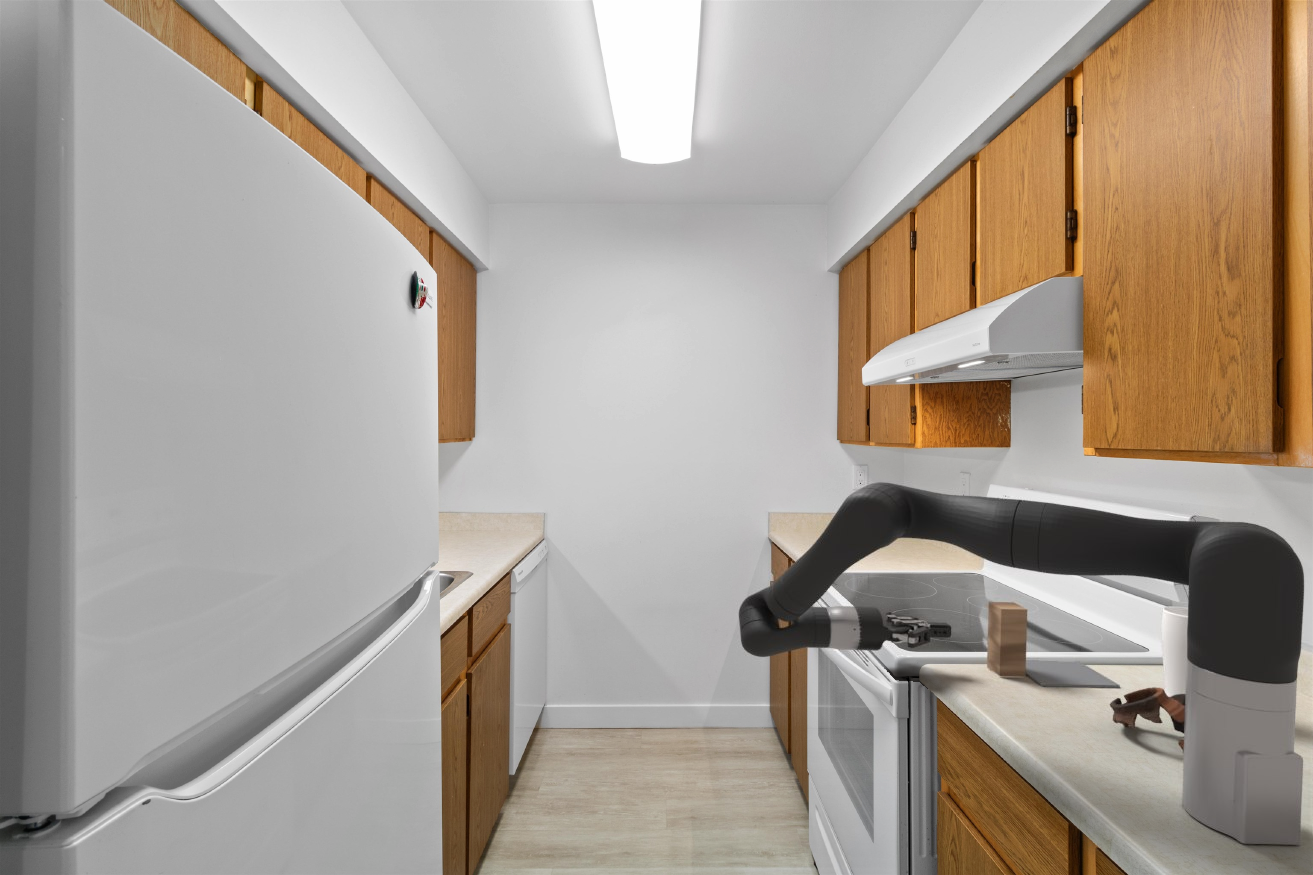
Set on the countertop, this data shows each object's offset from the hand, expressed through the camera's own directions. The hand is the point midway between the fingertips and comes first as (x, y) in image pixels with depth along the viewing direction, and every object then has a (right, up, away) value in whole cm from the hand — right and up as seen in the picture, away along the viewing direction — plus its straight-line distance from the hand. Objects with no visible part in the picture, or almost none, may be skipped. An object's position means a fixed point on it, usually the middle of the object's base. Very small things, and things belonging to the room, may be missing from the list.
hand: (949, 630), depth 117 cm
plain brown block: (+10, -8, 0) cm, 13 cm away
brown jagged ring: (+19, -9, -24) cm, 32 cm away
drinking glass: (+31, -8, -13) cm, 35 cm away
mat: (+20, -8, 0) cm, 21 cm away
